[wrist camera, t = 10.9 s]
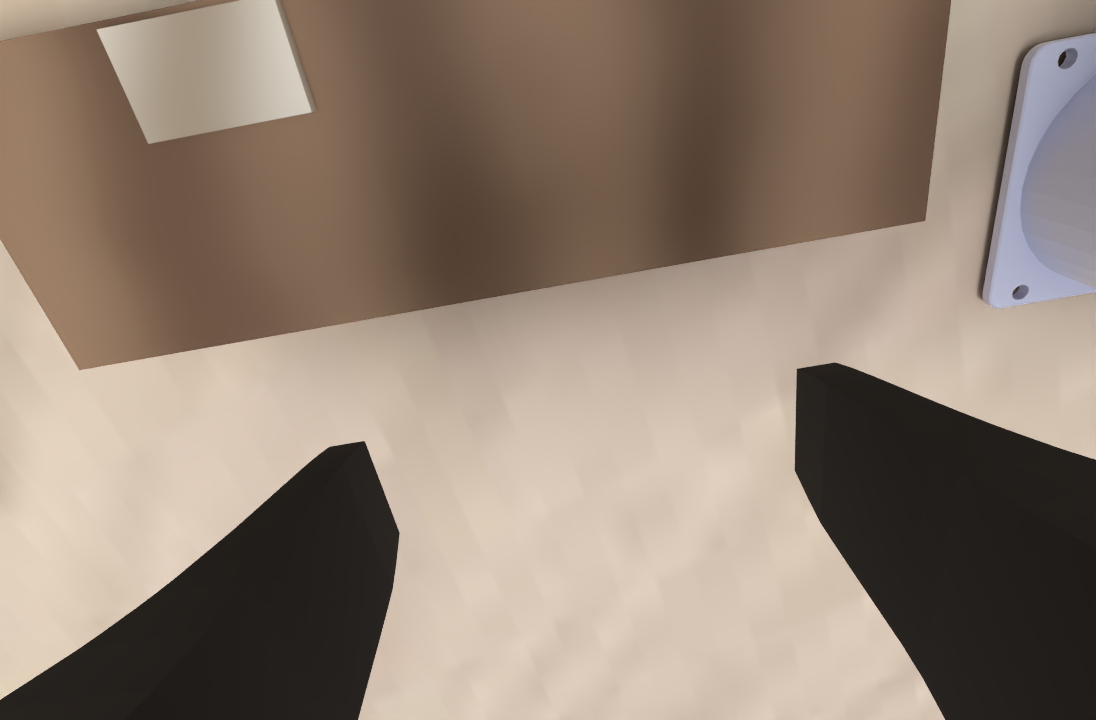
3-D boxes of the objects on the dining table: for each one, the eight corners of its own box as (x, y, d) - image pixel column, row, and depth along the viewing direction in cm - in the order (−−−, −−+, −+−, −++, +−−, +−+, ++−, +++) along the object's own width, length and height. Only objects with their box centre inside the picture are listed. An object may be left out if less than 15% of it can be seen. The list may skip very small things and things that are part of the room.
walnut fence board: (889, -117, 15) (982, -164, 12) (867, 198, 19) (934, 224, 16) (-1, 63, 16) (-124, 63, 13) (140, 328, 20) (69, 376, 17)
